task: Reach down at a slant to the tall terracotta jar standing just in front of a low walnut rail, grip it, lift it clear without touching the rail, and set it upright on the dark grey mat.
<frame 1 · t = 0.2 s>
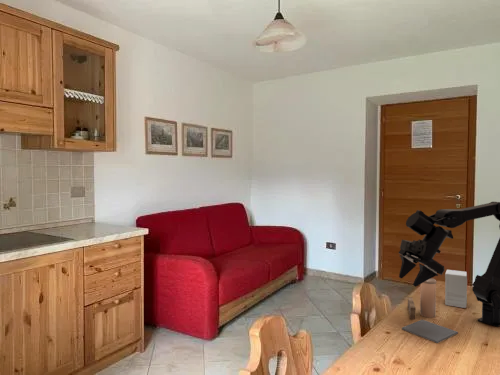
hand: (406, 281, 123), 15 cm above the table, tool tilted 35°, fingers open, 9 cm apart
dark grey mat: (429, 331, 119), on the table
supplement box: (455, 304, 144), on the table
terracotta jar: (427, 314, 133), on the table
walnut rail: (411, 313, 135), on the table
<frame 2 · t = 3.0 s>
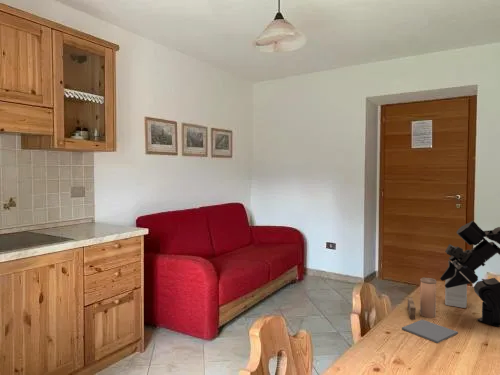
hand: (443, 283, 131), 12 cm above the table, tool tilted 45°, fingers open, 9 cm apart
nothing on the table moved.
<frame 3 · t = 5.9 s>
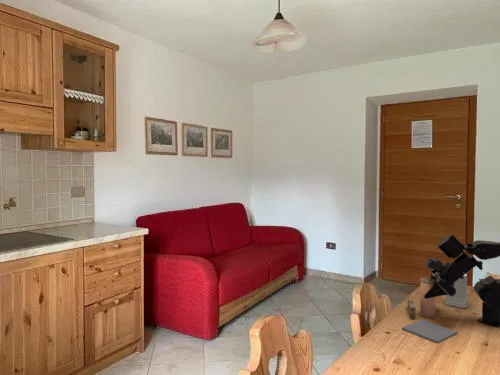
hand: (423, 295, 133), 7 cm above the table, tool tilted 45°, fingers closed on terracotta jar, 5 cm apart
terracotta jar: (427, 314, 133), on the table, touching gripper
everything else where it was.
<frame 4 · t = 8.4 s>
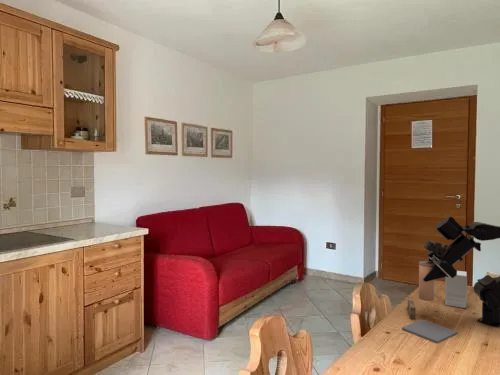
hand: (422, 278, 131), 14 cm above the table, tool tilted 45°, fingers closed on terracotta jar, 5 cm apart
terracotta jar: (426, 298, 131), point 7 cm above the table, touching gripper
everything else where it was.
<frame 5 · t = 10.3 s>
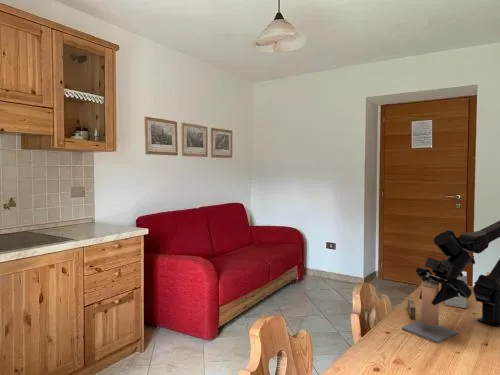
hand: (426, 301, 118), 10 cm above the table, tool tilted 45°, fingers closed on terracotta jar, 5 cm apart
terracotta jar: (429, 322, 119), point 3 cm above the table, touching gripper
everything else where it was.
when the fingers open (9 cm above the table, at t = 11.3 s): terracotta jar drops 1 cm, resting on dark grey mat.
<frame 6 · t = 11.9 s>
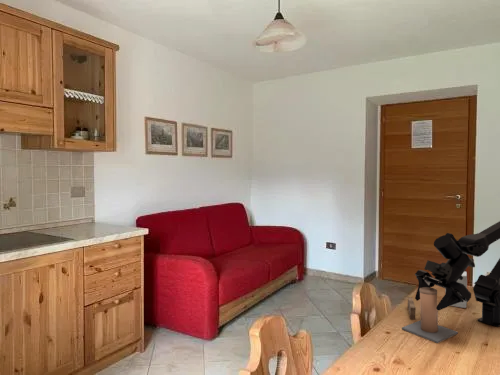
hand: (426, 304, 118), 9 cm above the table, tool tilted 45°, fingers open, 9 cm apart
terracotta jar: (429, 329, 119), point 1 cm above the table, touching dark grey mat
everything else where it was.
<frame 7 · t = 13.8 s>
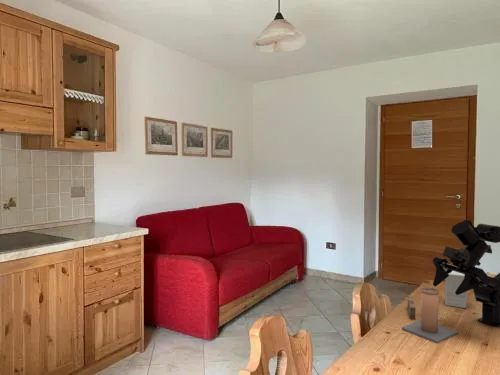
hand: (444, 289, 120), 13 cm above the table, tool tilted 45°, fingers open, 9 cm apart
nothing on the table moved.
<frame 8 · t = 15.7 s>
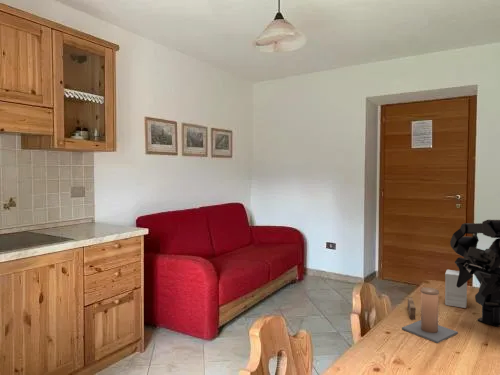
hand: (469, 291, 118), 14 cm above the table, tool tilted 45°, fingers open, 9 cm apart
nothing on the table moved.
at the end: terracotta jar inside the target area on the dark grey mat (0.1 cm from its centre), point 0.6 cm above the dark grey mat's base; terracotta jar tilted 0°; the gripper is holding nothing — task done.
